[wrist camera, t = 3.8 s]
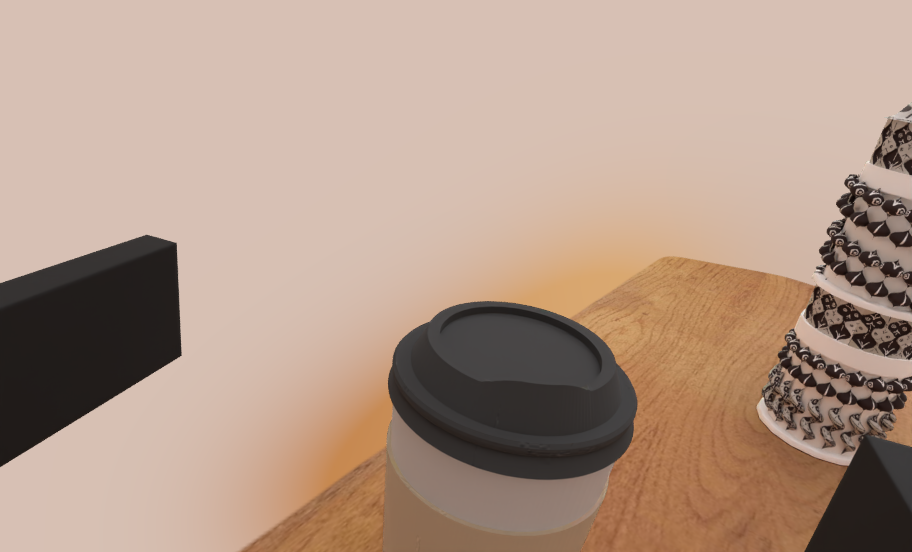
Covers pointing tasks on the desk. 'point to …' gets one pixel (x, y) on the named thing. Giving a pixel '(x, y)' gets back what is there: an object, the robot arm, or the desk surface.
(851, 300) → the white patterned cylinder
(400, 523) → the coffee cup
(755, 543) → the desk surface
